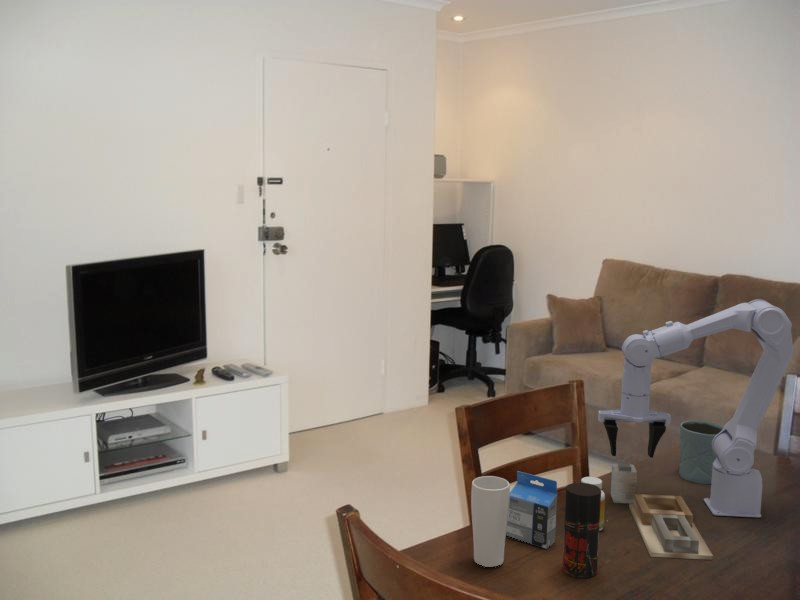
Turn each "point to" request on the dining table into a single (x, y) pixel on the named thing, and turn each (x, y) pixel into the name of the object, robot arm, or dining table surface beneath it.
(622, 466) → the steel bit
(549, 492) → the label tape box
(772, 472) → the dining table surface
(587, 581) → the dining table surface
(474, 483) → the drinking glass
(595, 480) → the supplement bottle
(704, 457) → the green plant pot
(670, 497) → the socket board
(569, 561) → the deodorant
